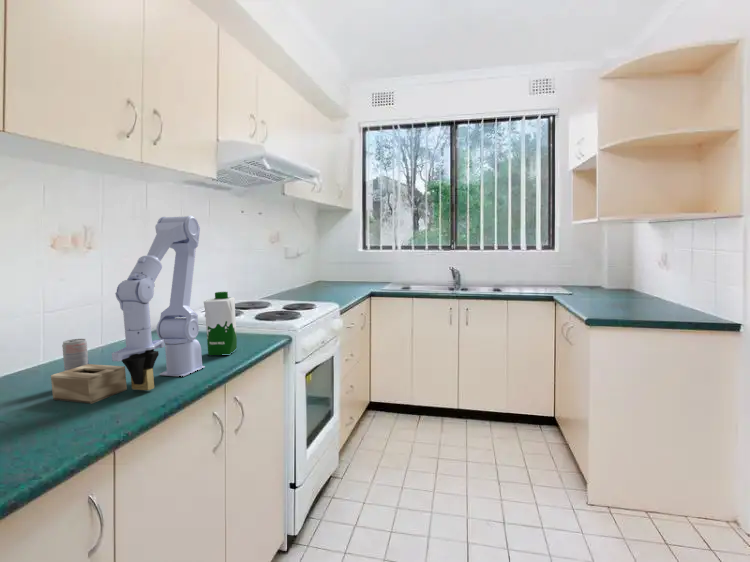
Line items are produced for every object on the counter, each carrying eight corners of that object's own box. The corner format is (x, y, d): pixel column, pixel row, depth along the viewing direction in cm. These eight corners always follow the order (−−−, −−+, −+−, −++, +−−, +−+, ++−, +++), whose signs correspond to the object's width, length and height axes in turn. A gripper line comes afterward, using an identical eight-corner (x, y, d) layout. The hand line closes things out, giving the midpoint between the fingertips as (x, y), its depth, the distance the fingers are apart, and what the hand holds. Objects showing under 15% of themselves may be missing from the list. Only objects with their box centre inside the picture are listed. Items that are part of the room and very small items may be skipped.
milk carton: (240, 349, 157) (236, 291, 155) (231, 356, 148) (227, 294, 146) (214, 350, 157) (210, 291, 155) (203, 357, 148) (199, 295, 146)
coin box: (90, 386, 120) (88, 364, 119) (126, 389, 116) (124, 366, 116) (53, 399, 110) (50, 375, 110) (91, 403, 107) (89, 378, 106)
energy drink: (85, 381, 125) (82, 337, 124) (93, 384, 122) (89, 339, 121) (63, 386, 121) (58, 341, 120) (70, 390, 117) (66, 343, 116)
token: (138, 386, 117) (136, 367, 116) (154, 387, 115) (152, 368, 115) (131, 389, 115) (130, 369, 114) (148, 390, 113) (146, 370, 113)
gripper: (127, 335, 105) (131, 393, 107) (172, 323, 119) (176, 374, 120) (102, 334, 108) (108, 391, 109) (150, 322, 121) (154, 373, 123)
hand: (142, 382), depth 115 cm, fingers closed on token, 2 cm apart
